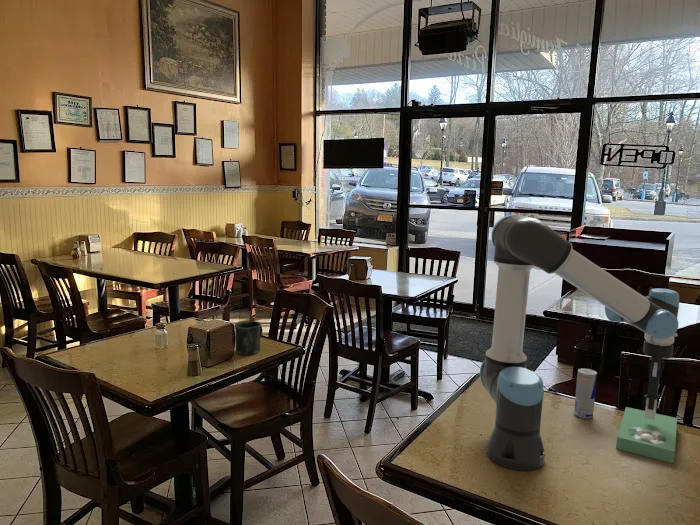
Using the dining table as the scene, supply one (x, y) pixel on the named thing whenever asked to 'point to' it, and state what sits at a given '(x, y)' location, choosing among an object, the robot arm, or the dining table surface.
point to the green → (658, 429)
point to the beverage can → (585, 393)
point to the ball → (647, 436)
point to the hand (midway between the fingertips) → (649, 418)
